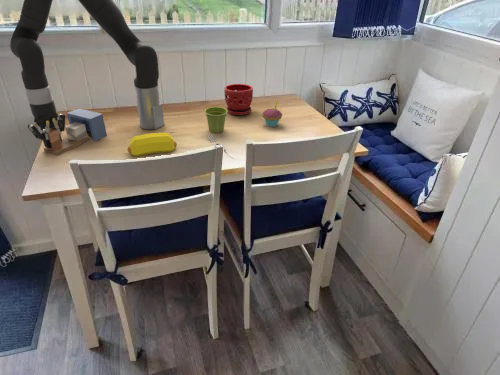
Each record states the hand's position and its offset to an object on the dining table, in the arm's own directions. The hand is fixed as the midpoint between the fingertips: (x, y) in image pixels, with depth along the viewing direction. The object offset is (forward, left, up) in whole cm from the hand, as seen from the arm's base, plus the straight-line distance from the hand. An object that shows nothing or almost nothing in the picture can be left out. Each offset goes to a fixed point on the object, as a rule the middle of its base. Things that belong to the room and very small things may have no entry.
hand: (54, 145), depth 132 cm
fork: (-53, -31, -3) cm, 61 cm away
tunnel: (0, -16, -2) cm, 16 cm away
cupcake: (-60, -62, -2) cm, 86 cm away
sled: (0, -6, -2) cm, 6 cm away
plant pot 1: (-42, -45, -2) cm, 62 cm away
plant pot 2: (-40, -69, -2) cm, 80 cm away
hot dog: (-31, -17, -3) cm, 35 cm away
